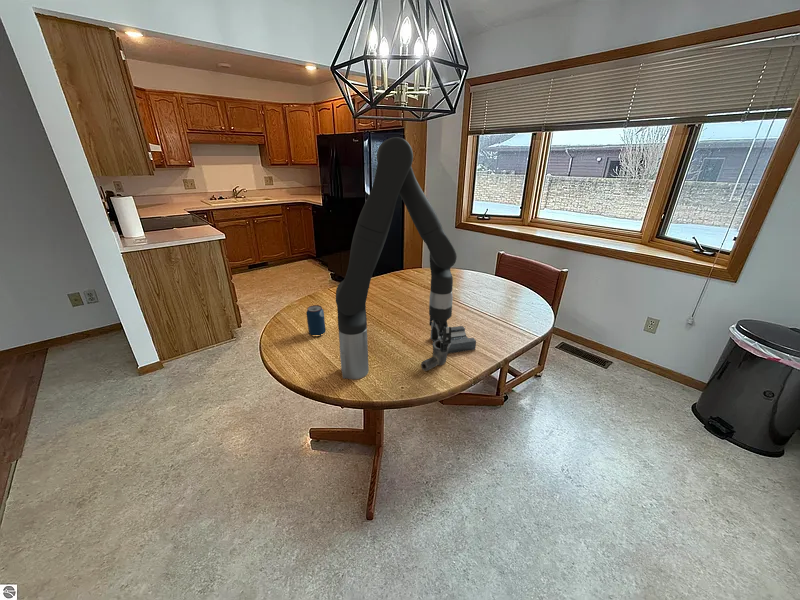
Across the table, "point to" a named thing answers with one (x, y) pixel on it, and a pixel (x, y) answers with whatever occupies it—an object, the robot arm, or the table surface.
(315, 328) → the soda can
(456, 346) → the v block
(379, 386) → the table surface
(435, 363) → the pipe
